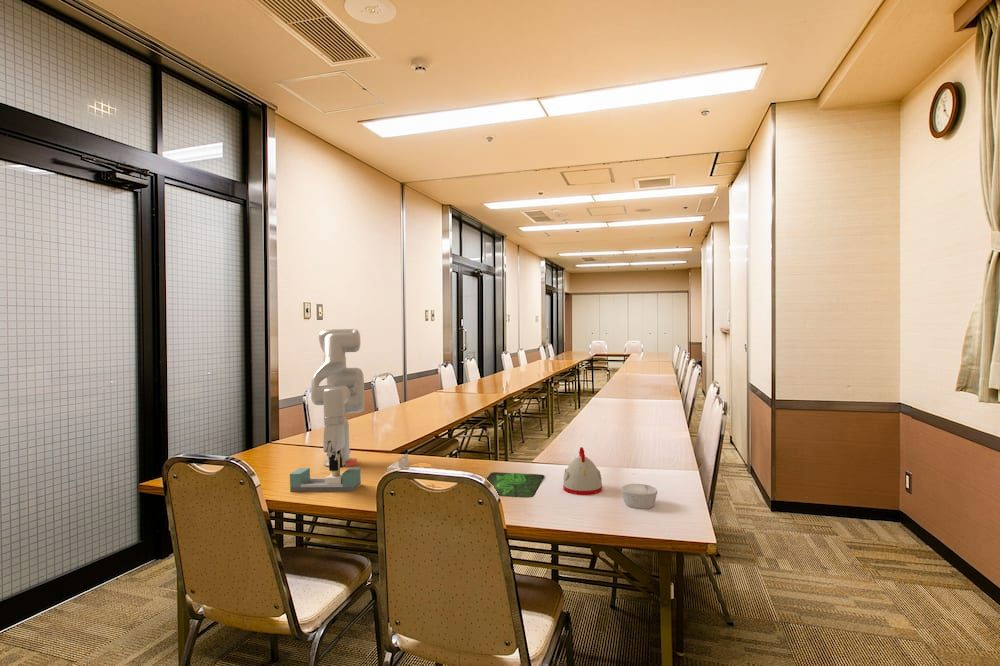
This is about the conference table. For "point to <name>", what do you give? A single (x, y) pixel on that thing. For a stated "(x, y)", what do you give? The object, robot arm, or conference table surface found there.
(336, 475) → the carriage
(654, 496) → the ramekin
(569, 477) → the kitchen timer
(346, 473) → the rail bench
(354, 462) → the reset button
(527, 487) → the mouse mat
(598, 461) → the conference table surface
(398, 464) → the white angular piece
